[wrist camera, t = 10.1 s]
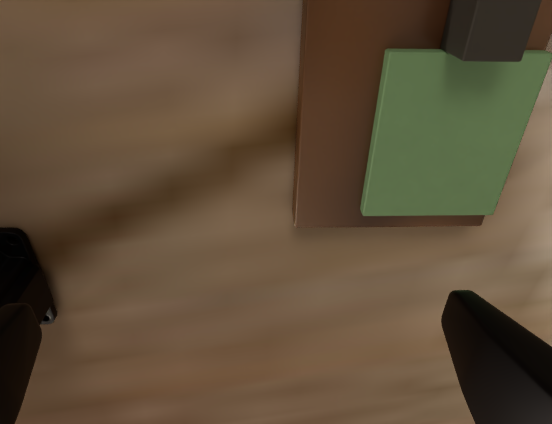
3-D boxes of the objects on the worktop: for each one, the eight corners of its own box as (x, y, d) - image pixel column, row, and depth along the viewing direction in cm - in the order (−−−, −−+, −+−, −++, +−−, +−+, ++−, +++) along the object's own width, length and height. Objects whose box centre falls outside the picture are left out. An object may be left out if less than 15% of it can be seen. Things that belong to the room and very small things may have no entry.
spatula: (486, 208, 19) (509, 234, 17) (359, 209, 19) (369, 235, 17) (708, -400, 10) (804, -473, 8) (458, -416, 9) (502, -496, 8)
